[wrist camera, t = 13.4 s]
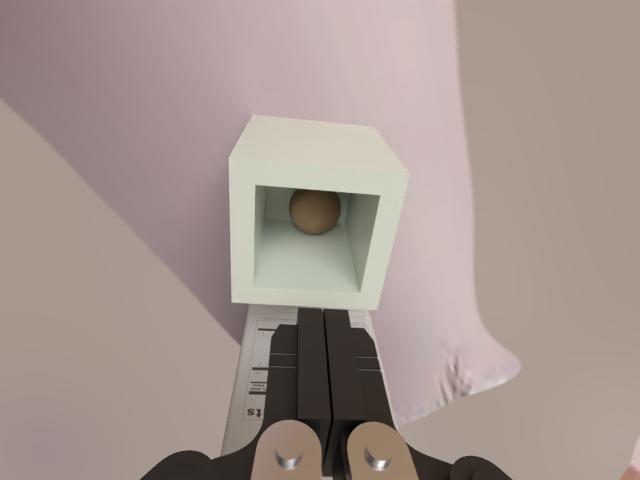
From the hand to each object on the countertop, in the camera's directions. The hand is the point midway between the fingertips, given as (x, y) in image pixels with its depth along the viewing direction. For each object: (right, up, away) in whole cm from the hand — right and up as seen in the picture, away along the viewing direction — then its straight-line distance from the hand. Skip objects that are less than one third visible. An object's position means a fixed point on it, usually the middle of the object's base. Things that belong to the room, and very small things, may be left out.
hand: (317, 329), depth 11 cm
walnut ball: (-1, +6, +10) cm, 12 cm away
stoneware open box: (-1, +7, +11) cm, 13 cm away
